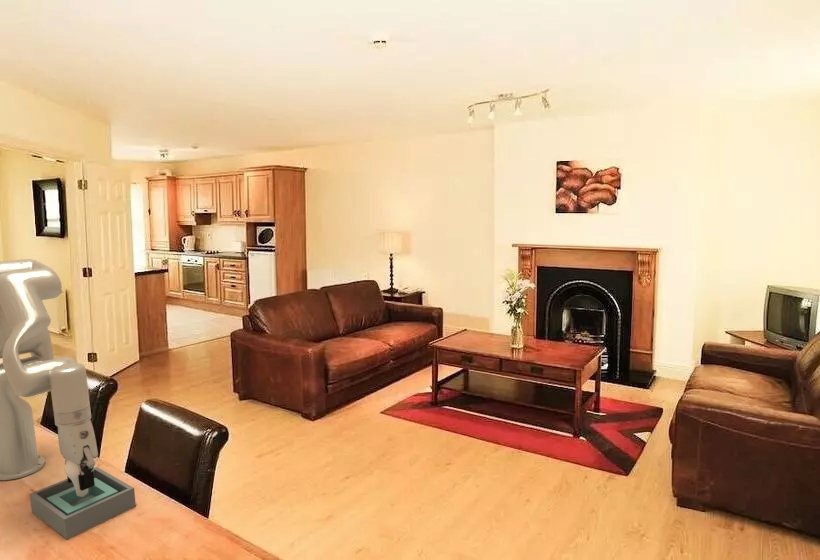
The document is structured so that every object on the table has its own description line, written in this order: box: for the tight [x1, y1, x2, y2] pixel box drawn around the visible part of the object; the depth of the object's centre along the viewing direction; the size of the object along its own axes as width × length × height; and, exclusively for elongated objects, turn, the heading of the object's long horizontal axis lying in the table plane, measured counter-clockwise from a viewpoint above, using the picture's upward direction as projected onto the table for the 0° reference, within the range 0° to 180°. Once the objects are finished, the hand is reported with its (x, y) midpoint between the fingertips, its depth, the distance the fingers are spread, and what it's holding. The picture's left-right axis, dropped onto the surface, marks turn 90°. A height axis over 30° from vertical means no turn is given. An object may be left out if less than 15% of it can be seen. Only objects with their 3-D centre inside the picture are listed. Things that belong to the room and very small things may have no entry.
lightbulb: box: [64, 458, 88, 497], centre depth 134 cm, size 6×6×11 cm
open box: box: [28, 466, 137, 540], centre depth 135 cm, size 19×16×5 cm
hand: (81, 483), depth 134 cm, fingers closed on lightbulb, 5 cm apart
